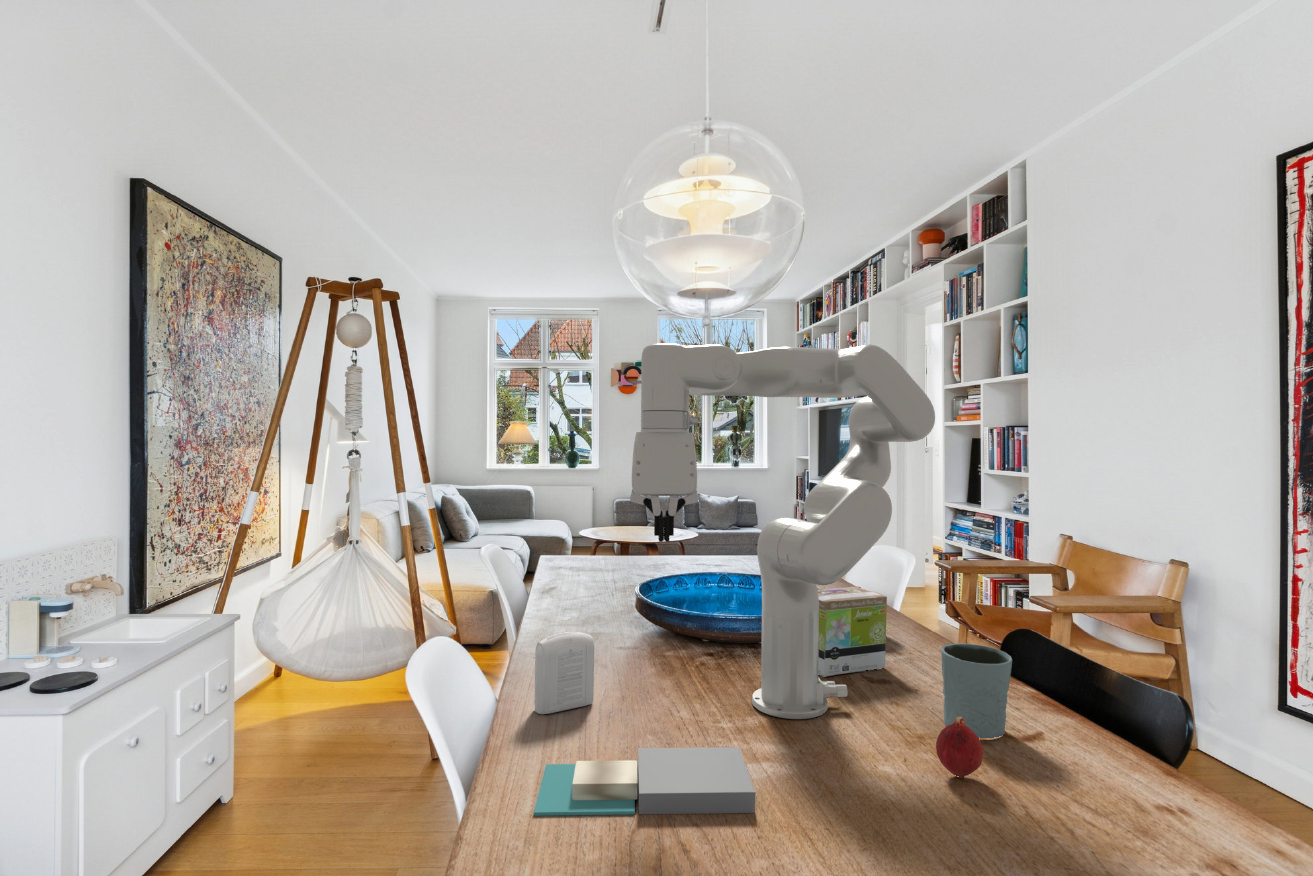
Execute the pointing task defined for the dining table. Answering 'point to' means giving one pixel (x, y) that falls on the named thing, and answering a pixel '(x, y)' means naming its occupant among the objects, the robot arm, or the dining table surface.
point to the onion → (959, 748)
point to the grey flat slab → (694, 781)
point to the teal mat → (559, 796)
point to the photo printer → (564, 672)
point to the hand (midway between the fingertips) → (663, 540)
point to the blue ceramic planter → (976, 687)
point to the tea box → (851, 630)
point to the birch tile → (605, 780)
